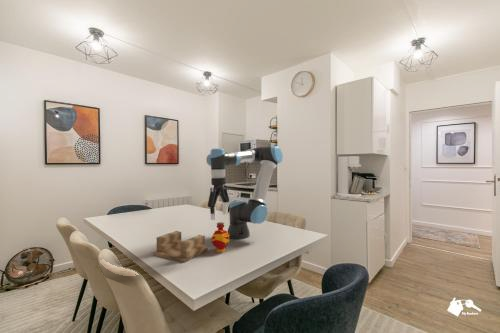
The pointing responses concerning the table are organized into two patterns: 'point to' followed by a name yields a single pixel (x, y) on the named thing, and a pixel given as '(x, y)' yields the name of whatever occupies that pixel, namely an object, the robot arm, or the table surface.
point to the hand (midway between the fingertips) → (219, 216)
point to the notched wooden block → (180, 247)
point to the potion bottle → (220, 238)
